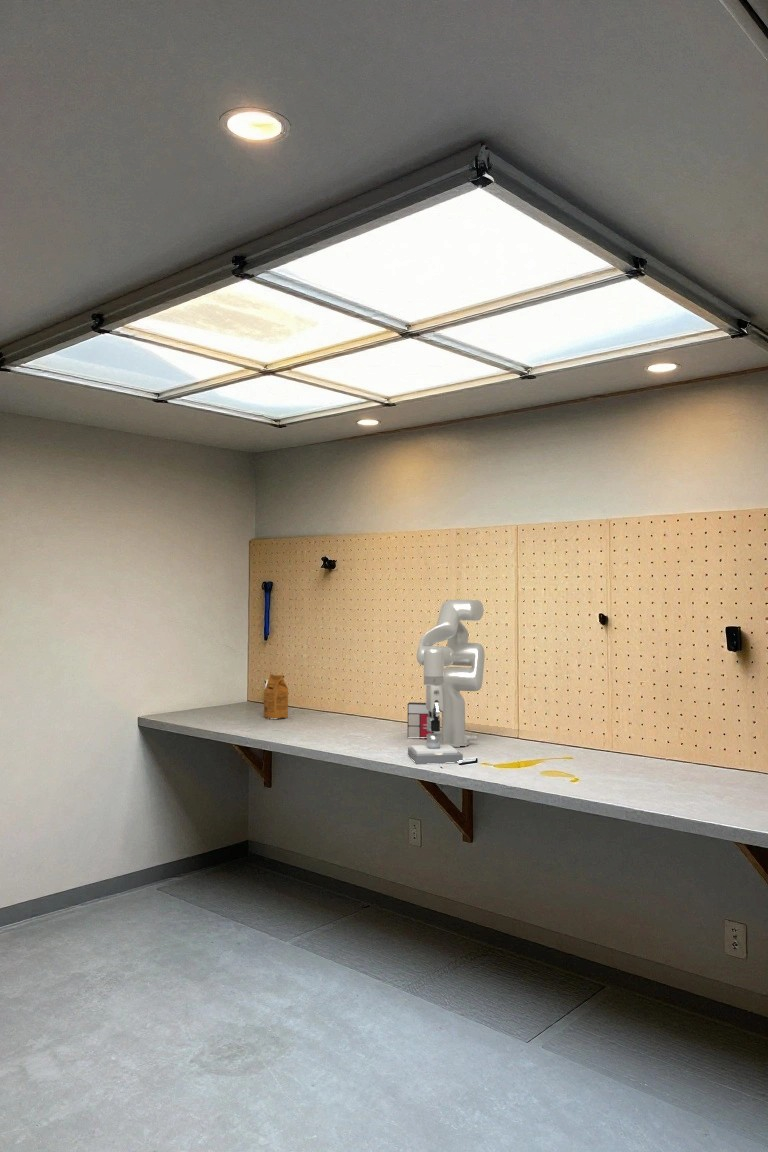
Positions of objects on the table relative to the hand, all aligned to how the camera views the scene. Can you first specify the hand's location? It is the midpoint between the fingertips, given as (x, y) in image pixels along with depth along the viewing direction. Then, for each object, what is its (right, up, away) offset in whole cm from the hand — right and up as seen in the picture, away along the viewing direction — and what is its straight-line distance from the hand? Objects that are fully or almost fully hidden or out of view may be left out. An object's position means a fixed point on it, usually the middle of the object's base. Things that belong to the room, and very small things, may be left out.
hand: (433, 729), depth 307 cm
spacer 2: (0, -7, 0) cm, 7 cm away
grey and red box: (-3, -12, +45) cm, 46 cm away
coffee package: (-73, -14, +106) cm, 129 cm away
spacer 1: (0, -1, 0) cm, 1 cm away
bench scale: (0, -11, -2) cm, 11 cm away
